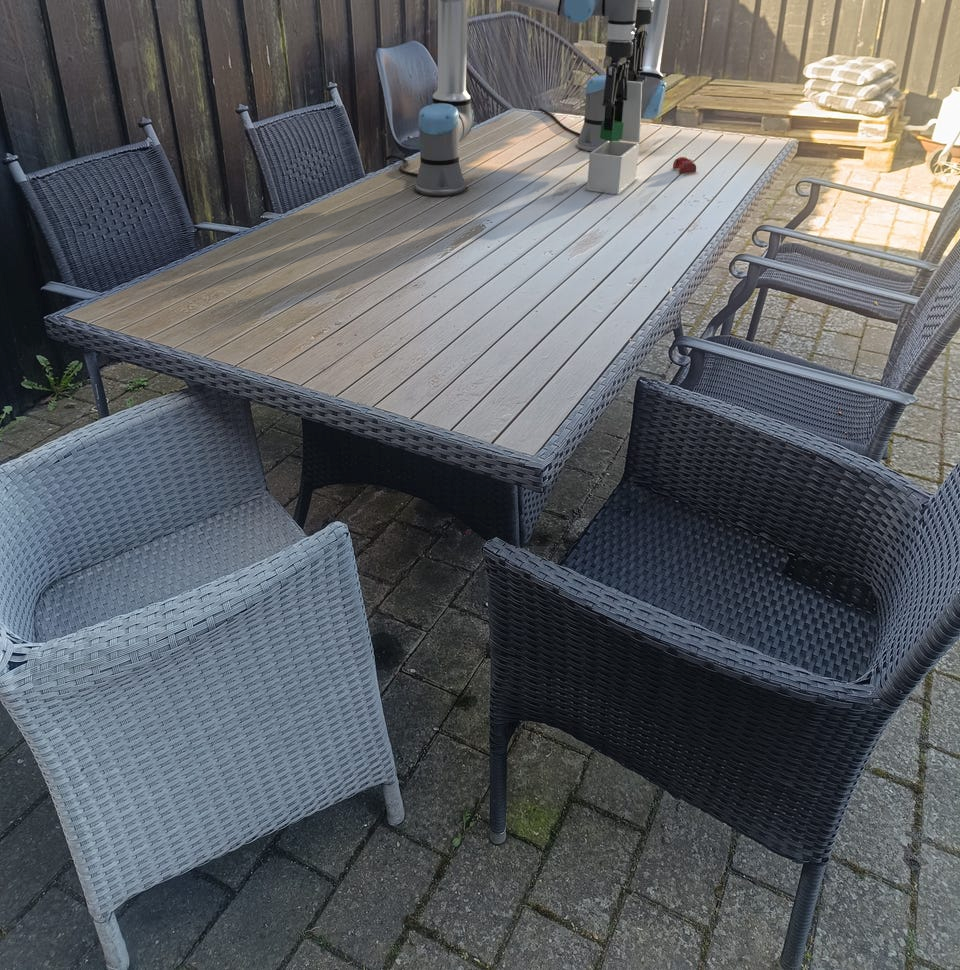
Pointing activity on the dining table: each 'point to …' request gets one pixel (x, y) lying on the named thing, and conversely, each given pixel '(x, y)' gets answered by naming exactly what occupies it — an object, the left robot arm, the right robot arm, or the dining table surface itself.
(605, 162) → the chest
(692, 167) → the dark red rounded lump
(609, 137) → the block
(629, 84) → the lid
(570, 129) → the right robot arm
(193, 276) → the dining table surface
